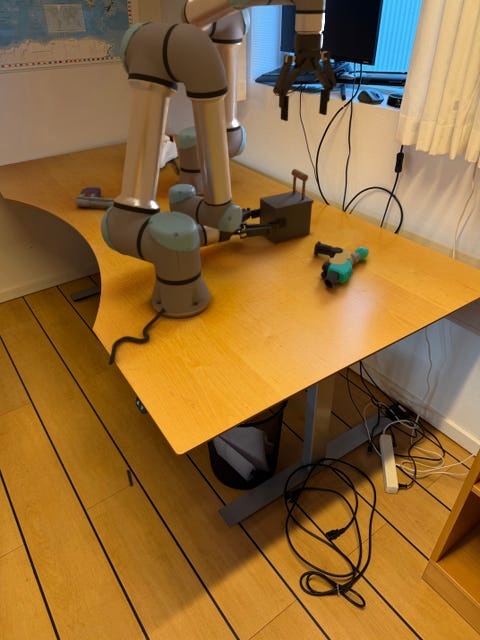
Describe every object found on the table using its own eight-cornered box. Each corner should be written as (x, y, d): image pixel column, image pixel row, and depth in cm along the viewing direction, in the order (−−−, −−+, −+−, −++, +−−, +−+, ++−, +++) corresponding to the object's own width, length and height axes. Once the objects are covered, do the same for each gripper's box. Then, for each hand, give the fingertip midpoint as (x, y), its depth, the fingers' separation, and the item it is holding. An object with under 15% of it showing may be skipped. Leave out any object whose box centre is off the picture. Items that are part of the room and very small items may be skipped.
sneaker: (133, 173, 208) (129, 144, 201) (161, 153, 230) (158, 127, 223) (155, 175, 205) (151, 146, 198) (180, 155, 227) (178, 129, 220)
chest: (293, 223, 165) (295, 193, 158) (309, 234, 158) (312, 203, 151) (259, 231, 159) (259, 201, 153) (274, 243, 152) (275, 212, 146)
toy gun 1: (132, 197, 185) (117, 212, 173) (88, 194, 188) (70, 209, 177) (131, 187, 183) (115, 202, 171) (86, 184, 186) (67, 199, 174)
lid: (296, 193, 158) (298, 166, 153) (313, 203, 152) (315, 174, 146) (259, 201, 153) (260, 173, 148) (275, 212, 146) (276, 183, 141)
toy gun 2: (291, 269, 129) (345, 283, 123) (323, 233, 148) (371, 243, 142) (290, 283, 132) (343, 297, 126) (322, 246, 150) (369, 256, 145)
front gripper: (200, 228, 155) (259, 214, 164) (232, 257, 139) (295, 240, 148) (199, 207, 151) (259, 193, 159) (231, 233, 135) (297, 217, 143)
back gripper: (337, 28, 134) (330, 109, 146) (261, 34, 124) (260, 119, 137) (354, 30, 129) (345, 114, 141) (276, 36, 119) (274, 125, 132)
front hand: (277, 216), depth 153 cm, fingers closed on chest, 10 cm apart
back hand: (303, 117), depth 139 cm, fingers open, 13 cm apart
